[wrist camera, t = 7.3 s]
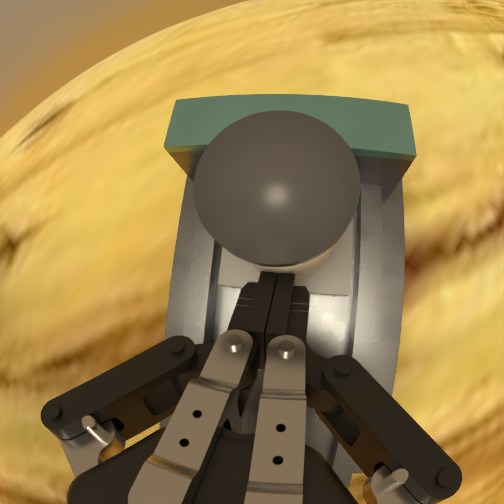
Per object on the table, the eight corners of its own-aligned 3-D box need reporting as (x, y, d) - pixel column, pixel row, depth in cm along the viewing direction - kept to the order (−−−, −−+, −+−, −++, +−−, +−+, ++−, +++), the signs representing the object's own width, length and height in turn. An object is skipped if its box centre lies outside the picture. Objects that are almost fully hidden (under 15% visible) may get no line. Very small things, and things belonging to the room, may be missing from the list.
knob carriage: (223, 286, 18) (158, 263, 10) (235, 188, 19) (188, 107, 11) (346, 296, 16) (385, 281, 8) (350, 194, 18) (378, 110, 9)
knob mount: (165, 440, 18) (115, 478, 11) (200, 135, 22) (167, 79, 15) (371, 465, 15) (393, 520, 9) (394, 143, 19) (419, 84, 13)
